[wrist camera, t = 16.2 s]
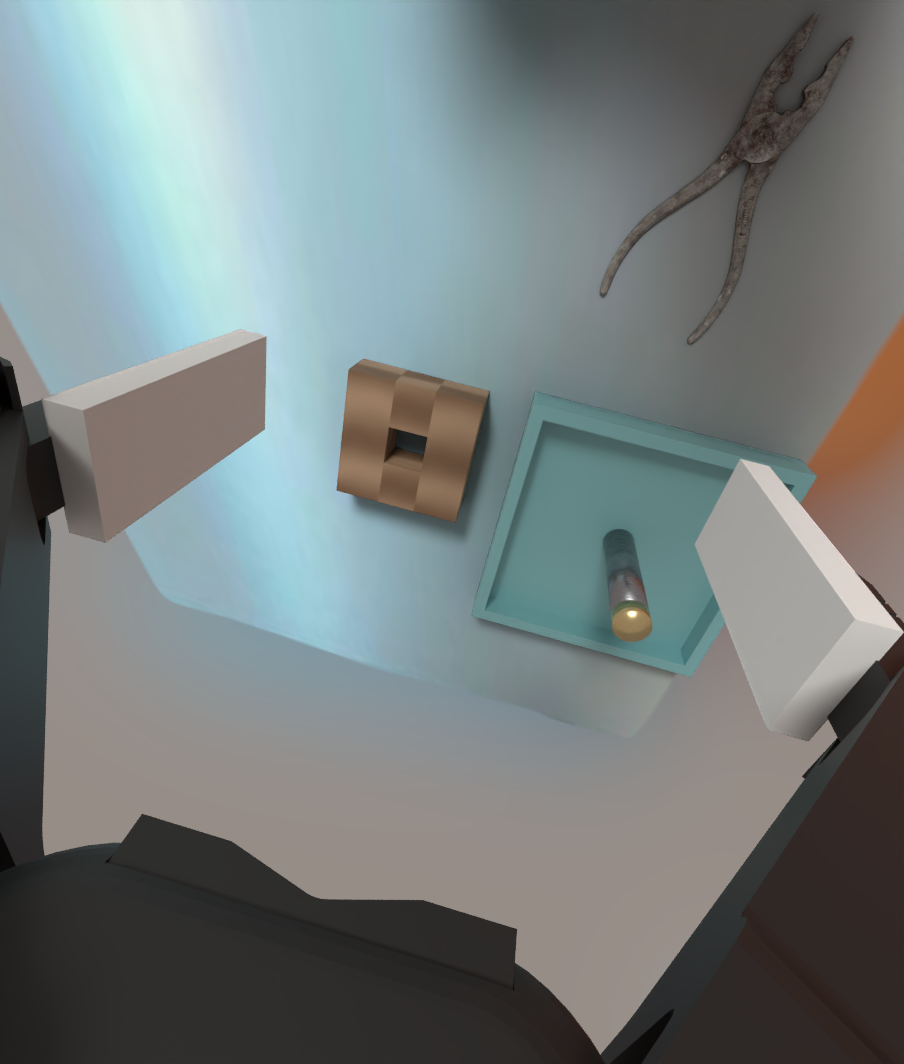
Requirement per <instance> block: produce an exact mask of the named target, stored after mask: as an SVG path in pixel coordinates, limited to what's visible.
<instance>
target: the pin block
mask: <svg viewBox="0 0 904 1064" xmlns="http://www.w3.org/2000/svg"><path fill="white" fill-rule="evenodd" d="M488 395H489V391H486V390H483V389H479V388H475V387H471V386H467V385H463V384H459V383H456V382H452V381H448V380H444V379H440V378H436V377H432V376H428V375H425V374H421V373H417V372H413V371H409V370H405V369H401V368H398V367H394V366H390V365H386V364H382V363H378V362H374V361H370V360H367V359H362V360H361V361H360V362H358V363H357V364H355V365H354V366H353V367H351V368H350V369H349V372H348V382H347V392H346V402H345V412H344V422H343V432H342V442H341V452H340V462H339V472H338V482H337V491H341V492H344V493H348V494H352V495H355V496H359V497H363V498H366V499H370V500H374V501H377V502H381V503H385V504H388V505H392V506H396V507H399V508H403V509H407V510H410V511H414V512H418V513H422V514H425V515H429V516H433V517H436V518H440V519H444V520H447V521H451V522H456V519H457V516H458V514H459V511H460V508H461V505H462V502H463V498H464V494H465V490H466V485H467V481H468V477H469V473H470V469H471V465H472V461H473V457H474V453H475V449H476V445H477V440H478V436H479V432H480V428H481V424H482V420H483V416H484V412H485V408H486V404H487V399H488ZM398 430H402V431H406V432H410V433H413V434H417V435H421V436H425V437H428V438H427V443H426V448H425V453H424V455H422V454H418V453H415V452H411V451H407V450H403V449H400V448H396V447H395V445H396V438H397V432H398Z"/></svg>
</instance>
